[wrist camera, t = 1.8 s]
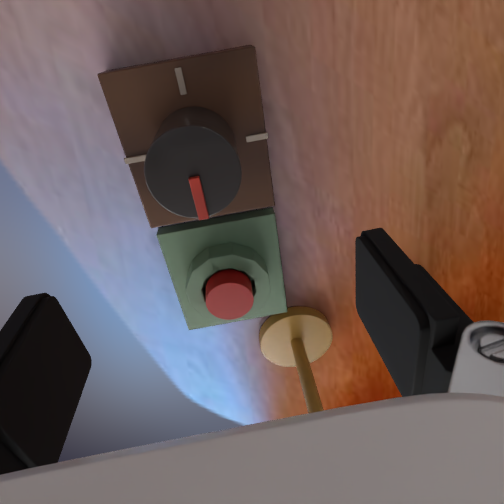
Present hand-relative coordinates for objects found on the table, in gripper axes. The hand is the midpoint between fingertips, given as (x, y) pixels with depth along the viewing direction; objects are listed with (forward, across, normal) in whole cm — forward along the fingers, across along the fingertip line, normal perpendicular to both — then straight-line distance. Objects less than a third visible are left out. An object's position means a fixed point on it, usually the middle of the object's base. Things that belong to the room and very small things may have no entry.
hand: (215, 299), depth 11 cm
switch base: (+16, +1, +10) cm, 19 cm away
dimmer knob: (+14, +1, -1) cm, 14 cm away
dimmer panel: (+16, +1, -1) cm, 16 cm away
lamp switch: (+14, +1, +10) cm, 17 cm away
